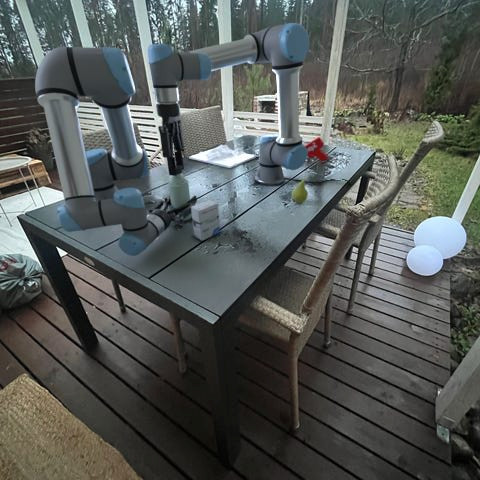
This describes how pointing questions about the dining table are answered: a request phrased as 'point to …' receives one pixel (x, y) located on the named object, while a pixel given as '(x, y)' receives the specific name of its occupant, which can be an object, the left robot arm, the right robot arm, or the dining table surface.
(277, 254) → the dining table surface
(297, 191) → the fruit
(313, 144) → the toy gun
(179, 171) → the cap
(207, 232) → the ink box
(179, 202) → the bottle
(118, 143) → the left robot arm
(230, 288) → the dining table surface
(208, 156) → the relief map
